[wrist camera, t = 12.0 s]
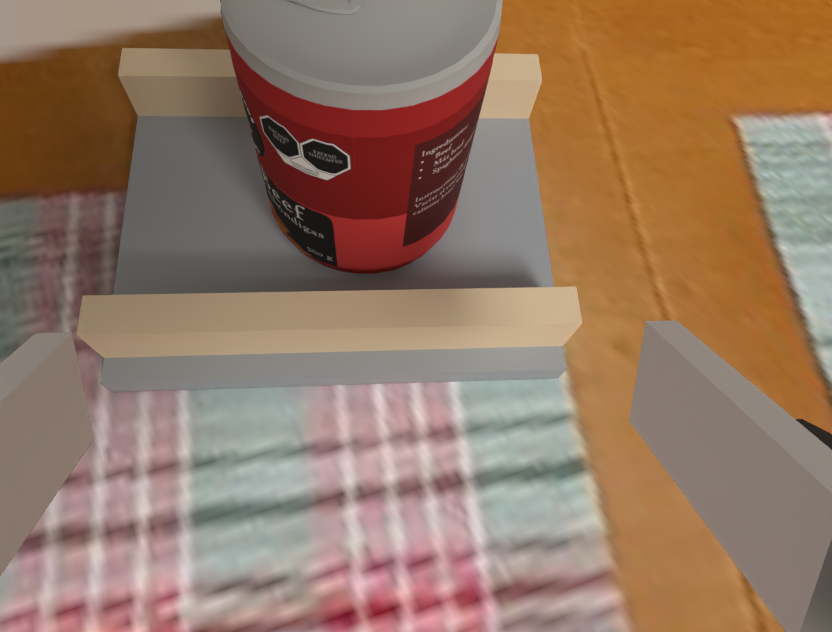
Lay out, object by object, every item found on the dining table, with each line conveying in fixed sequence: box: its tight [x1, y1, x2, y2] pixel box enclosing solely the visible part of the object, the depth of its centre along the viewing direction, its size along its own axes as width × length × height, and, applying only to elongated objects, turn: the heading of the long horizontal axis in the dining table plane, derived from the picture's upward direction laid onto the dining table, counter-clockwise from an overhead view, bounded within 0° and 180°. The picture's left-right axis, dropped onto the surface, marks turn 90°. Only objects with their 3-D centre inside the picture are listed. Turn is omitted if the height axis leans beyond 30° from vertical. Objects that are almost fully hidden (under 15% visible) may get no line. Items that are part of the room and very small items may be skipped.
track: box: [76, 48, 582, 392], centre depth 27 cm, size 18×15×4 cm
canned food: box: [220, 0, 503, 274], centre depth 23 cm, size 8×8×11 cm
